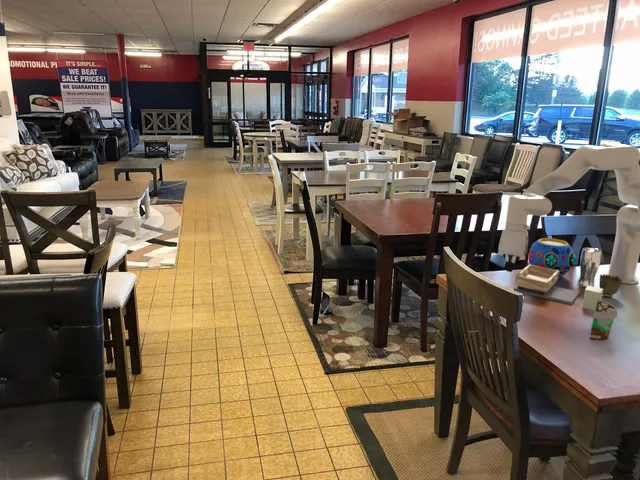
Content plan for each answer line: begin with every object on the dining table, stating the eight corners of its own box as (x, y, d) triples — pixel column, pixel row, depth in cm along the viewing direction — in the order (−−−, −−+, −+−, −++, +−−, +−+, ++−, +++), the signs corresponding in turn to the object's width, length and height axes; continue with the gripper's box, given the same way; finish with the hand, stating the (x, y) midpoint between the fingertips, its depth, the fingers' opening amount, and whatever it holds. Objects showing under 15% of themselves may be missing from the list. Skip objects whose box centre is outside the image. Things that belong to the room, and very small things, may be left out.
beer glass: (594, 284, 207) (601, 249, 203) (595, 289, 201) (602, 253, 197) (576, 281, 210) (582, 246, 206) (576, 286, 204) (582, 251, 200)
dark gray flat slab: (523, 281, 208) (523, 279, 208) (579, 294, 196) (579, 291, 196) (513, 290, 198) (513, 288, 198) (571, 304, 186) (571, 302, 186)
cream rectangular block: (584, 303, 188) (587, 285, 186) (599, 306, 185) (603, 288, 183) (581, 307, 184) (585, 289, 182) (597, 311, 181) (600, 292, 179)
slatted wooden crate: (527, 277, 209) (529, 264, 207) (557, 284, 202) (559, 270, 201) (513, 289, 195) (515, 275, 194) (545, 297, 189) (547, 282, 187)
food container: (611, 346, 155) (617, 316, 153) (588, 341, 158) (594, 311, 156) (613, 331, 165) (619, 303, 163) (592, 326, 169) (597, 298, 166)
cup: (621, 301, 190) (625, 281, 188) (599, 299, 191) (603, 279, 189) (614, 294, 197) (618, 274, 195) (593, 292, 198) (597, 273, 196)
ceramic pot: (540, 283, 206) (546, 248, 202) (517, 269, 223) (522, 236, 218) (580, 282, 209) (586, 247, 204) (554, 268, 225) (559, 235, 221)
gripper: (538, 228, 197) (531, 272, 202) (499, 221, 206) (494, 264, 211) (532, 232, 191) (526, 277, 197) (493, 225, 200) (488, 269, 205)
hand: (509, 270), depth 204 cm, fingers closed
